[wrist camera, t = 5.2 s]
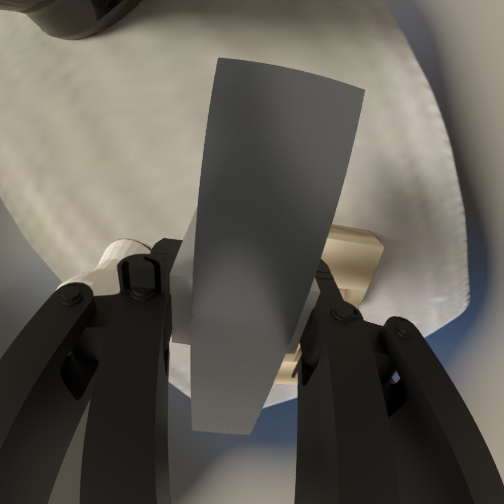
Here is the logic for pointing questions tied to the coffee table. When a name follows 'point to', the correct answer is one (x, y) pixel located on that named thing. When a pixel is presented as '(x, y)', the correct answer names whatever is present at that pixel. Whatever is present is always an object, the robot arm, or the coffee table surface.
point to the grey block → (261, 227)
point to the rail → (342, 276)
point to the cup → (109, 267)
